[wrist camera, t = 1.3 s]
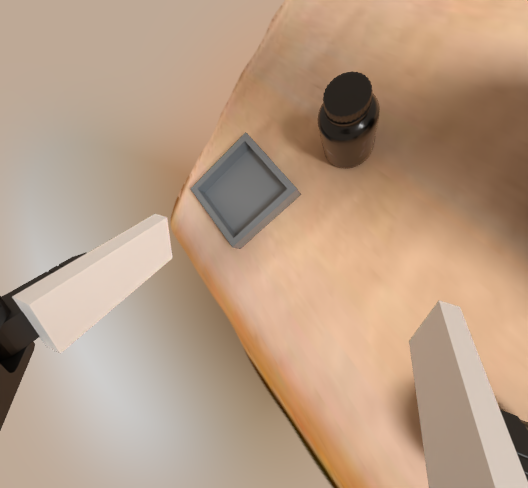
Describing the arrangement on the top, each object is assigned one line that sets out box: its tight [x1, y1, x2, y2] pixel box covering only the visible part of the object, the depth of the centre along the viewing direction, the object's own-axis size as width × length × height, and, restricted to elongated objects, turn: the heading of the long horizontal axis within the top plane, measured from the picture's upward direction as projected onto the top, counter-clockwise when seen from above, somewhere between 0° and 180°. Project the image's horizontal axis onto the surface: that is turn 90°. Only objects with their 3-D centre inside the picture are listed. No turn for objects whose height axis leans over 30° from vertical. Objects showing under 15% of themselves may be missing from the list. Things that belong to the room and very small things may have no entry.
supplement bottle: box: [318, 72, 379, 168], centre depth 31 cm, size 7×7×12 cm
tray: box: [191, 133, 301, 249], centre depth 40 cm, size 13×13×3 cm
